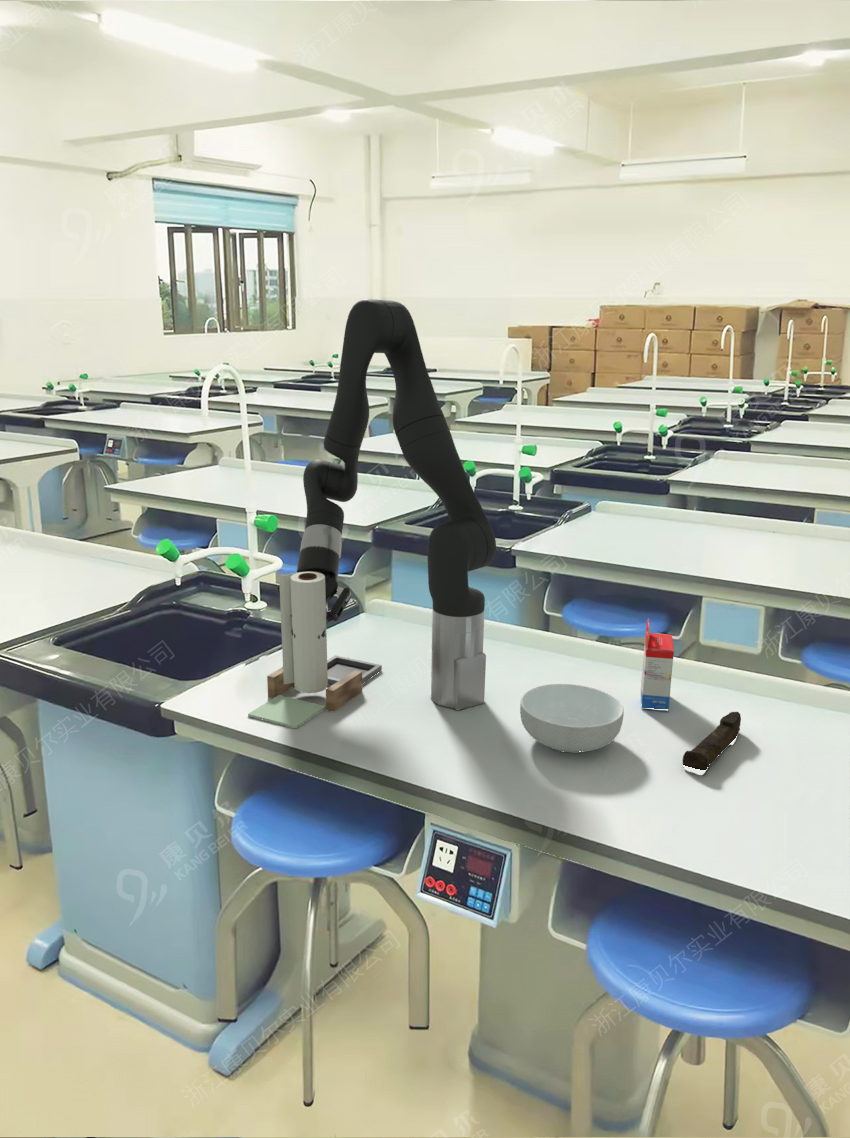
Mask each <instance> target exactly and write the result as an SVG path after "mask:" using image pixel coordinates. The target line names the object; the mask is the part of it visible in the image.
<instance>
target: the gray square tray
mask: <svg viewBox="0 0 850 1138" xmlns="http://www.w3.org/2000/svg"><path fill="white" fill-rule="evenodd" d="M382 666H383V665H382V664H379V663H373V662H369V661H364V660H359V659H354V658H350V657H345V656H339V655H333V656H332V657H330V658H328V659H327V673H328V686H332V685H333V684H335V683H336V682H338V681H339V680H341V679H342V678H344V677H345V676H347V675H348V674H350V673H351V672H353V671H354V670H357V671H362V685H364V684H365V683H366V682H368V681H369V680H371V679H372V678H373V677H372V676H374V675H375V674H376V675H378V674H379V673H381V672H382V671H381V670H382V669H383V668H382ZM380 671H381V672H380ZM378 672H379V673H378ZM377 673H378V674H377ZM376 675H375V676H376ZM375 676H374V677H375ZM371 677H372V678H371ZM370 678H371V679H370ZM368 679H369V680H368ZM367 680H368V681H367ZM364 682H365V683H364ZM363 683H364V684H363Z"/></svg>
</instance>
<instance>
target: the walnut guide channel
mask: <svg viewBox="0 0 850 1138" xmlns="http://www.w3.org/2000/svg"><path fill="white" fill-rule="evenodd" d="M266 679H267V681H266V682H267V697H269V698H272V699H273V698H274V697H276V696H278V695H282V694H283V693H285V692H287V691H288V690H290V689H292V688H294V687H295V685H294V683H290V684H284V679H283V666H282V667H280V668H279V669H277V670H275V671H273V672H271V673H270V674H269V675H267V677H266ZM362 692H363V684H362V671H357V670H354V671H353V672H351V673H350V674H348V675H347V676H345V677H344V678H342V679H341V680H339V681H338V682H336V683H335V684H333V685H329V687H326V689H325V711H326V710H328V711H327V712H331V711H332V712H331V713H334V712H336V711H337V710H338V708H339V709H340V708H341V707H343V706H344V705H346V704H347V703H348V702H350V701H352V700H353V699H354V698H355V697H357V696H358V695H360V694H361V693H362ZM352 698H353V699H352ZM349 700H350V701H349Z"/></svg>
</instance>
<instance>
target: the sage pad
mask: <svg viewBox="0 0 850 1138" xmlns="http://www.w3.org/2000/svg"><path fill="white" fill-rule="evenodd" d="M322 710H323V711H324V710H326V705H322V704H317V703H313V702H309V701H307V700H305V701H304V700H301V699H297V698H294V697H288V696H284V695H282V694H280V695H278V696H276V697H274V698H273V697H272V698H271V699H270V700H267V702H265V703H263V704H261V705H260V706H258V707H257V708H255V709H253V710H252V711H250V712H248V713H247V716H249V718H252V717H254V718H253V719H256V718H258V719H257V720H260V719H263V720H262V721H264V720H266V721H265V722H268V721H270V722H269V723H271V722H273V723H272V724H275V723H277V724H276V725H279V724H282V725H281V726H283V725H285V726H284V727H287V726H288V727H287V728H291V727H293V728H292V729H295V728H297V727H298V728H300V727H301V726H302V724H303V723H304V724H306V723H307V722H308V721H310V720H311V719H312V717H313V716H314V717H315V715H316V714H317V715H318V714H320V713H321V712H323V711H322ZM317 715H316V716H317ZM314 717H313V718H314ZM309 719H310V720H309ZM306 721H307V722H306ZM304 724H303V725H304ZM300 725H301V726H300ZM299 726H300V727H299ZM298 728H297V729H298Z"/></svg>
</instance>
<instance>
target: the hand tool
mask: <svg viewBox="0 0 850 1138" xmlns="http://www.w3.org/2000/svg"><path fill="white" fill-rule="evenodd" d="M741 721H742V715H741V713H740V712H739V711H730V712H729V713H728V714H726V715H725V716H724V715H723V716H722V717H721V719H720V721H719V724H718V726H716V728H715V729H714V730H713V731H711V732H710V733H709V734H708V735H707V736H706V737H705V738H704V739H702V740H701V741H700V742H699V743H698V744H696V746H695V747H693V749H691V750H686V751H685V752H684V754H683V756H682V764H683V765H685V766H688V767H692V768H695V769H700V770H706V769H707V767H709V766H711V764H712V762H713V761H714V760H715V759H716V760H717V758H718V757H719V756H718V755H720V756H721V754H722V753H723V752H724V751H725V750H726V749H727V748H728V747H729V746H728V745H729V744H730V743H731V742H732V741H733V740H734V739H735V738H736V736H737V734H738V733H739V732H740V731H741ZM738 735H739V734H738ZM727 746H728V747H727ZM726 747H727V748H726ZM725 748H726V749H725ZM724 749H725V750H724ZM723 750H724V751H723ZM722 751H723V752H722ZM721 752H722V753H721ZM717 756H718V757H717ZM716 760H715V761H716ZM715 761H714V762H715ZM714 762H713V763H714ZM709 764H710V765H709ZM709 768H710V767H709Z"/></svg>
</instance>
